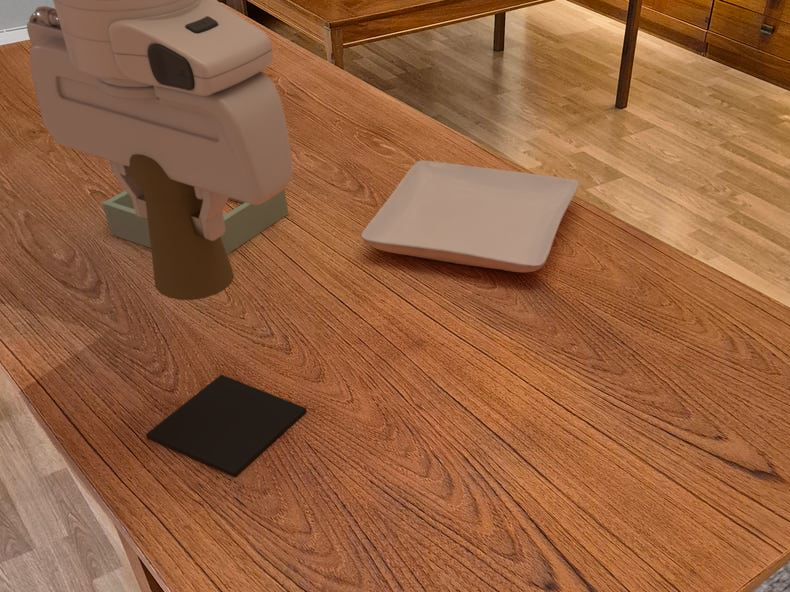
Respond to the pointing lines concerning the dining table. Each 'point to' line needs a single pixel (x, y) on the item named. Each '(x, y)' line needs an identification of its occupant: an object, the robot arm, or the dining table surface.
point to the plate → (472, 216)
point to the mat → (227, 425)
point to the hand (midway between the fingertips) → (181, 226)
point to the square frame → (237, 222)
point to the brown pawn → (179, 237)
